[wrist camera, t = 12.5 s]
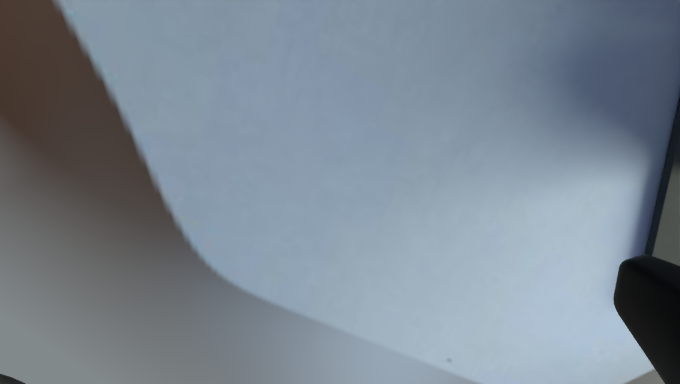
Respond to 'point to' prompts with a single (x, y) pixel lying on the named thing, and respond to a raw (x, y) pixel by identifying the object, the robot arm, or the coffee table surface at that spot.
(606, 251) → the coffee table surface
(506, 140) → the coffee table surface
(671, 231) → the long dark base plate
